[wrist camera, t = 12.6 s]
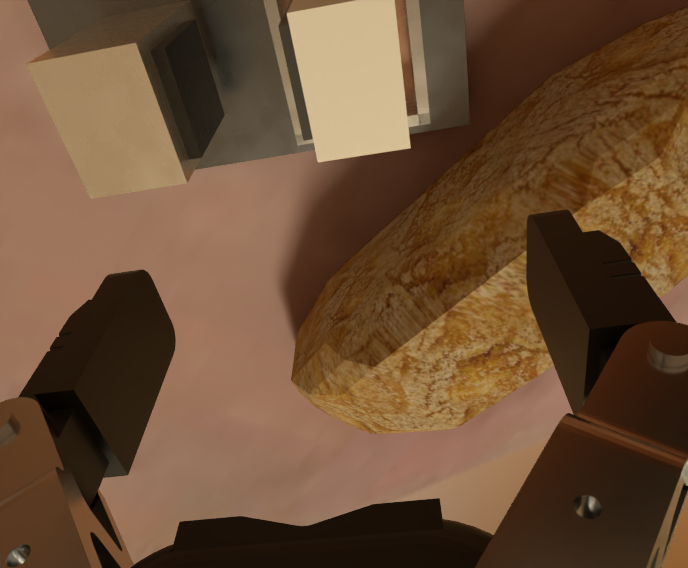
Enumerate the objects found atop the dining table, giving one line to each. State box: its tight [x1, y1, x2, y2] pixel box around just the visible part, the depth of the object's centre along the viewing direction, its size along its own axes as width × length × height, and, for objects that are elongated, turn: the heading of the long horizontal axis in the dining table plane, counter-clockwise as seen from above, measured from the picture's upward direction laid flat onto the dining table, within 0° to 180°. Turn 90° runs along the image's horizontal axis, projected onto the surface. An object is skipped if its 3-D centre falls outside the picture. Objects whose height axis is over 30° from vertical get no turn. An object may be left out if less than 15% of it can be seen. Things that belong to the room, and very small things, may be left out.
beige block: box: [278, 0, 411, 162], centre depth 27 cm, size 5×6×9 cm
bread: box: [291, 7, 688, 434], centre depth 35 cm, size 36×11×10 cm, turn 138°
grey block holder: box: [26, 0, 470, 199], centre depth 28 cm, size 12×22×10 cm, turn 100°
